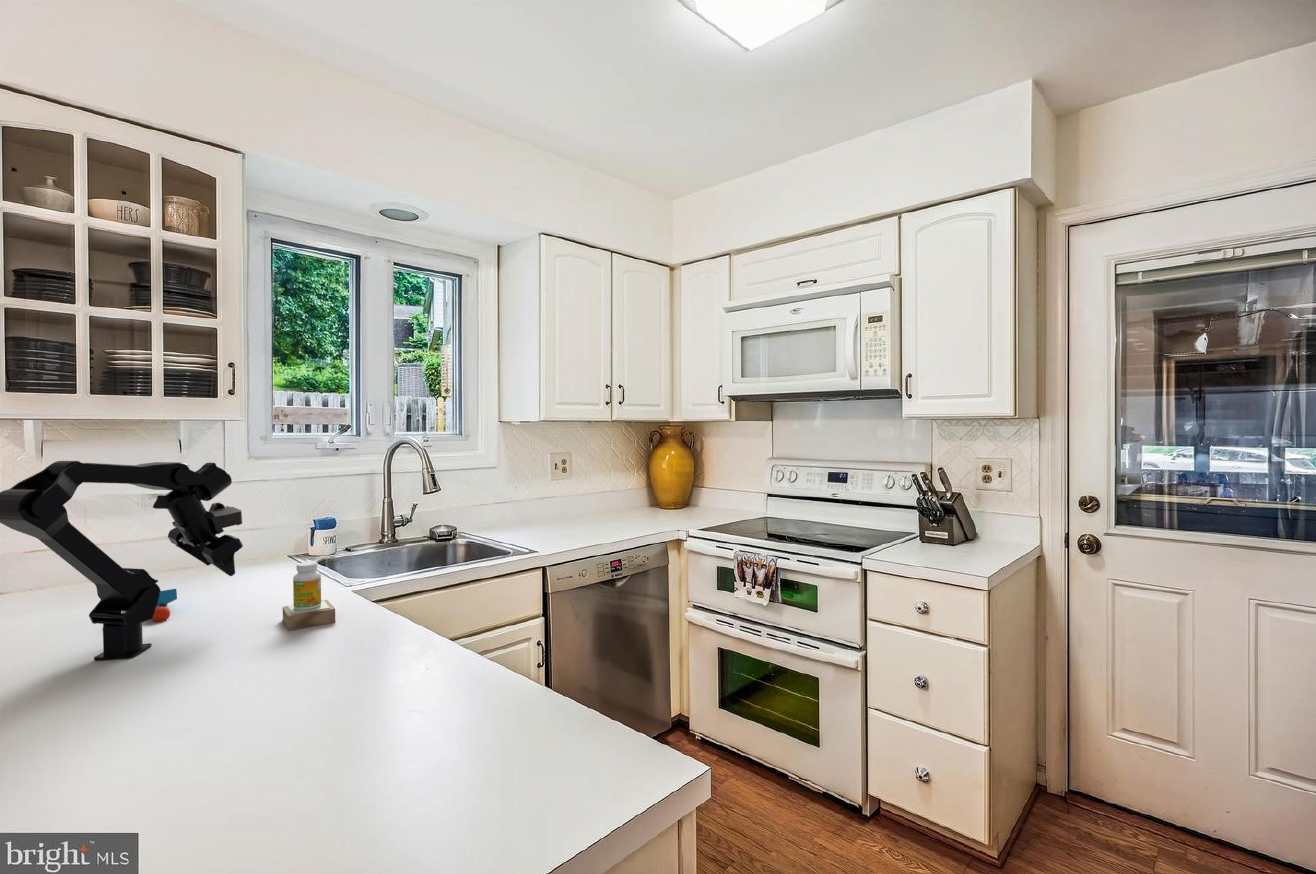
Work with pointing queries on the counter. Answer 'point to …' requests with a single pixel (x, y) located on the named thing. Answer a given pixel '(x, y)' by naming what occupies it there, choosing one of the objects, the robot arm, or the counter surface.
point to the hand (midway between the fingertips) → (221, 569)
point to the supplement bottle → (307, 586)
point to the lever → (164, 598)
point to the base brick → (308, 616)
